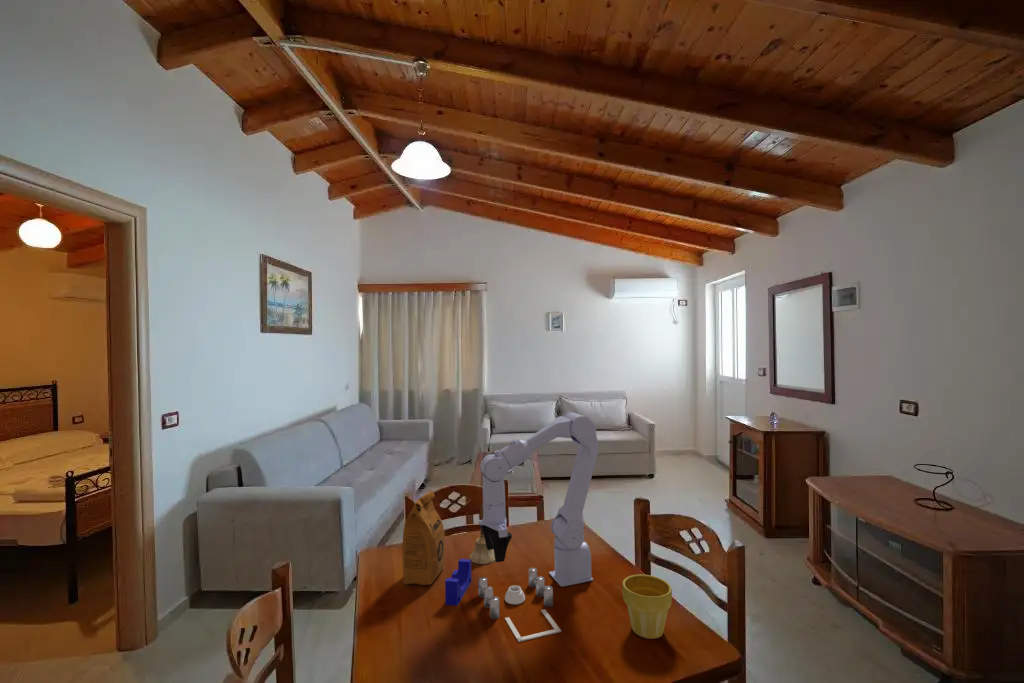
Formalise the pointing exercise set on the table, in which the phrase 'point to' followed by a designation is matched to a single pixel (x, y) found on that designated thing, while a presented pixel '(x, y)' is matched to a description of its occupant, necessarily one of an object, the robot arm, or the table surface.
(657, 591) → the plant pot
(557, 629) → the outline bay
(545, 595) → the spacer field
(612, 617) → the table surface
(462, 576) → the blue curved block
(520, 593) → the white jar
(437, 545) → the coffee package
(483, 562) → the hand bell
